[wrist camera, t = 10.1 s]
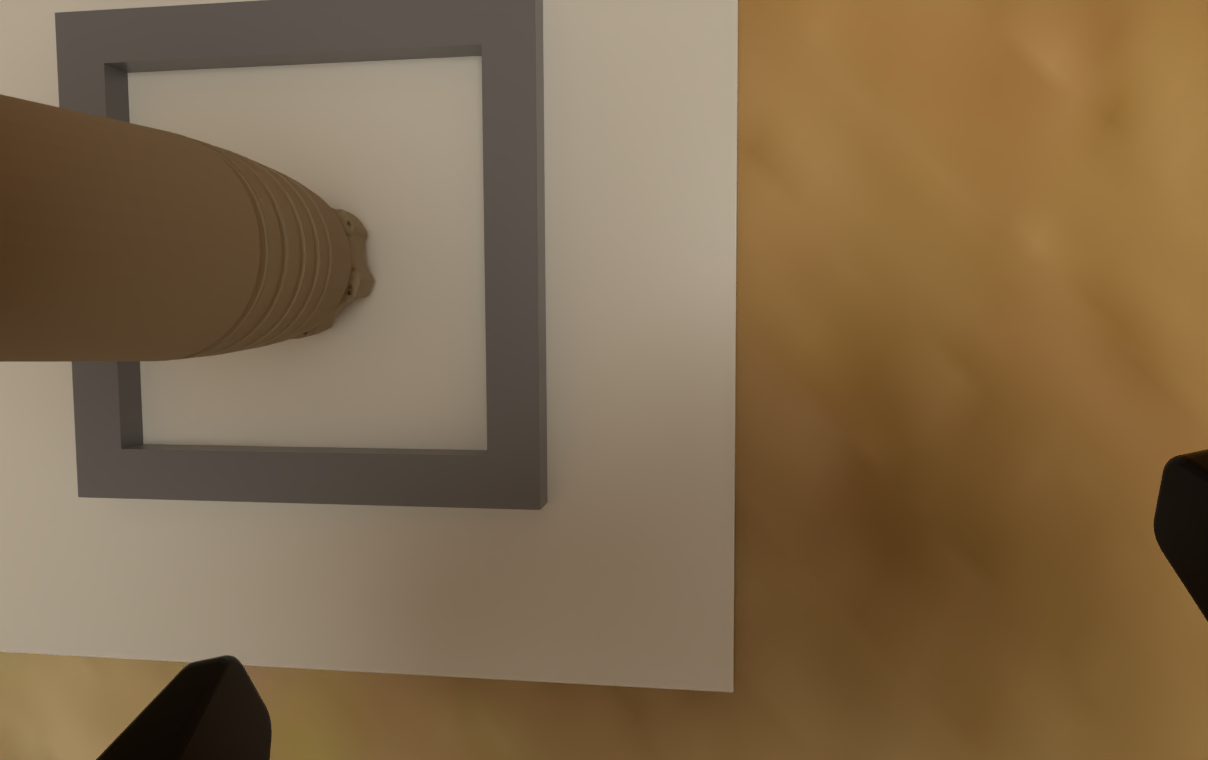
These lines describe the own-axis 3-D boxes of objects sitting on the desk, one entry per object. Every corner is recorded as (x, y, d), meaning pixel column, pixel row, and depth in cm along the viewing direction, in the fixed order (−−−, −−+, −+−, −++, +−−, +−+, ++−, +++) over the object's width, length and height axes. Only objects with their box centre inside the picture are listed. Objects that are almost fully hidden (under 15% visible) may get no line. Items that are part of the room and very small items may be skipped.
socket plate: (733, 683, 20) (734, 708, 19) (-24, 642, 23) (-68, 661, 22) (739, -209, 19) (740, -246, 18) (-69, -137, 22) (-120, -166, 21)
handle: (176, 180, 21) (-1155, -129, 6) (431, 142, 20) (-411, -335, 5) (205, 380, 21) (-994, 543, 6) (458, 351, 20) (-265, 464, 5)
